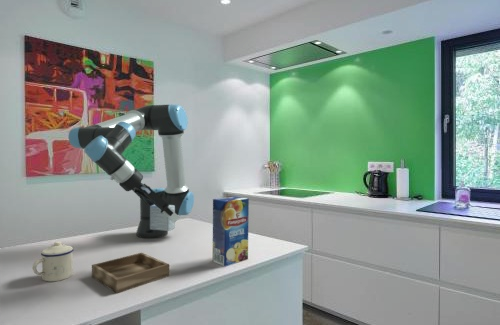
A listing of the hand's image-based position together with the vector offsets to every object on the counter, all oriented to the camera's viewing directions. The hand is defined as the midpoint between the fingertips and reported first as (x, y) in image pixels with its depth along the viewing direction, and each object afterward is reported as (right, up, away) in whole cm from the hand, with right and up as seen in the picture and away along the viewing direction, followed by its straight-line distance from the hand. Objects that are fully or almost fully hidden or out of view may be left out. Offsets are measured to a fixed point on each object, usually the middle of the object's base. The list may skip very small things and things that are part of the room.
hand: (170, 217), depth 116 cm
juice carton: (+22, -18, +6) cm, 29 cm away
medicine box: (-3, -4, -2) cm, 5 cm away
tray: (-11, -18, -11) cm, 23 cm away
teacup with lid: (-35, -18, -13) cm, 42 cm away
